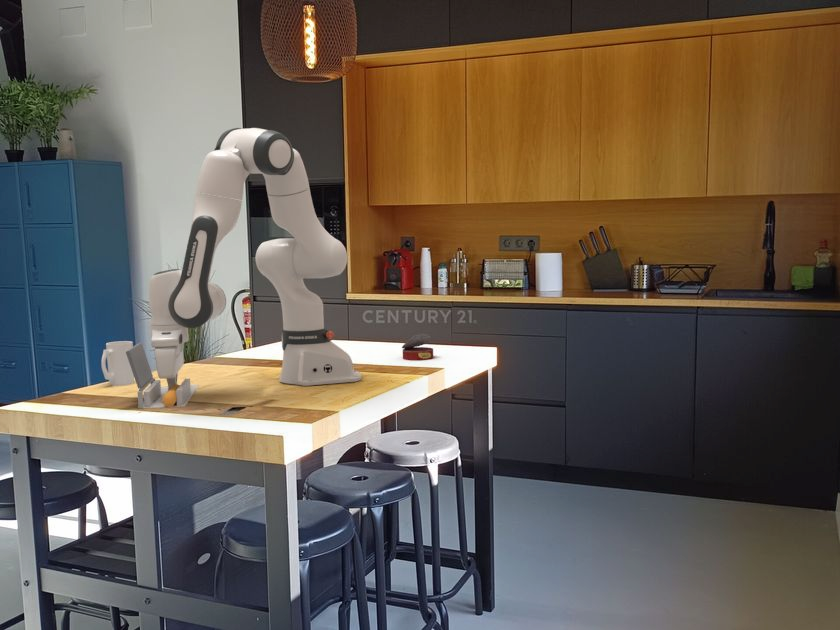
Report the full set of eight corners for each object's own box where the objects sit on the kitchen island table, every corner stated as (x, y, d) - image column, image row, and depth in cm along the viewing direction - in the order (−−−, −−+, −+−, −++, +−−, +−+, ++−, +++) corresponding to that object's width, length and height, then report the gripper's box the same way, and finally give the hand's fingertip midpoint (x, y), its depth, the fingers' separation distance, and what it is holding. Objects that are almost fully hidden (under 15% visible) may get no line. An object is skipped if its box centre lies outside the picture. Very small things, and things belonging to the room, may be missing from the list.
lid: (141, 342, 197) (137, 343, 197) (129, 350, 182) (125, 352, 182) (154, 379, 199) (150, 381, 198) (143, 391, 184) (139, 392, 184)
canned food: (407, 375, 251) (392, 348, 250) (412, 366, 261) (397, 340, 260) (439, 358, 249) (423, 331, 248) (442, 350, 259) (426, 324, 257)
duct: (198, 388, 211) (198, 370, 210) (185, 410, 184) (184, 389, 184) (157, 390, 209) (156, 372, 208) (138, 412, 183) (136, 391, 182)
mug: (121, 383, 220) (119, 340, 219) (140, 385, 217) (138, 341, 216) (93, 390, 211) (90, 345, 210) (113, 392, 208) (110, 346, 207)
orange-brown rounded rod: (177, 398, 196) (185, 389, 196) (170, 409, 184) (178, 399, 184) (167, 391, 195) (175, 381, 195) (159, 401, 183) (167, 391, 183)
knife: (225, 419, 173) (204, 418, 175) (225, 424, 174) (204, 423, 175) (267, 395, 195) (248, 394, 196) (267, 399, 195) (248, 398, 196)
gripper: (162, 330, 206) (165, 383, 208) (149, 341, 186) (153, 399, 188) (188, 329, 207) (190, 382, 209) (177, 339, 187) (181, 397, 189)
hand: (172, 390), depth 198 cm, fingers closed
